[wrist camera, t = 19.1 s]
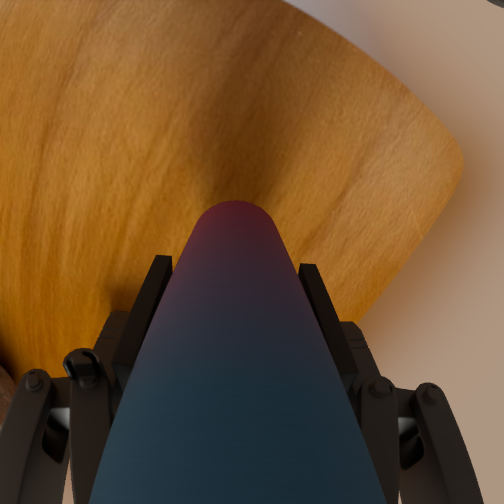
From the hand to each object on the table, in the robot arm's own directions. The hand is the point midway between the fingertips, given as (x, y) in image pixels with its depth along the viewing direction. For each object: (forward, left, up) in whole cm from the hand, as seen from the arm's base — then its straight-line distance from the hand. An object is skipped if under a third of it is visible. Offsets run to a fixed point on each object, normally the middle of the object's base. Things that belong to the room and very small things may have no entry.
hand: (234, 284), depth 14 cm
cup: (0, 0, -4) cm, 4 cm away
